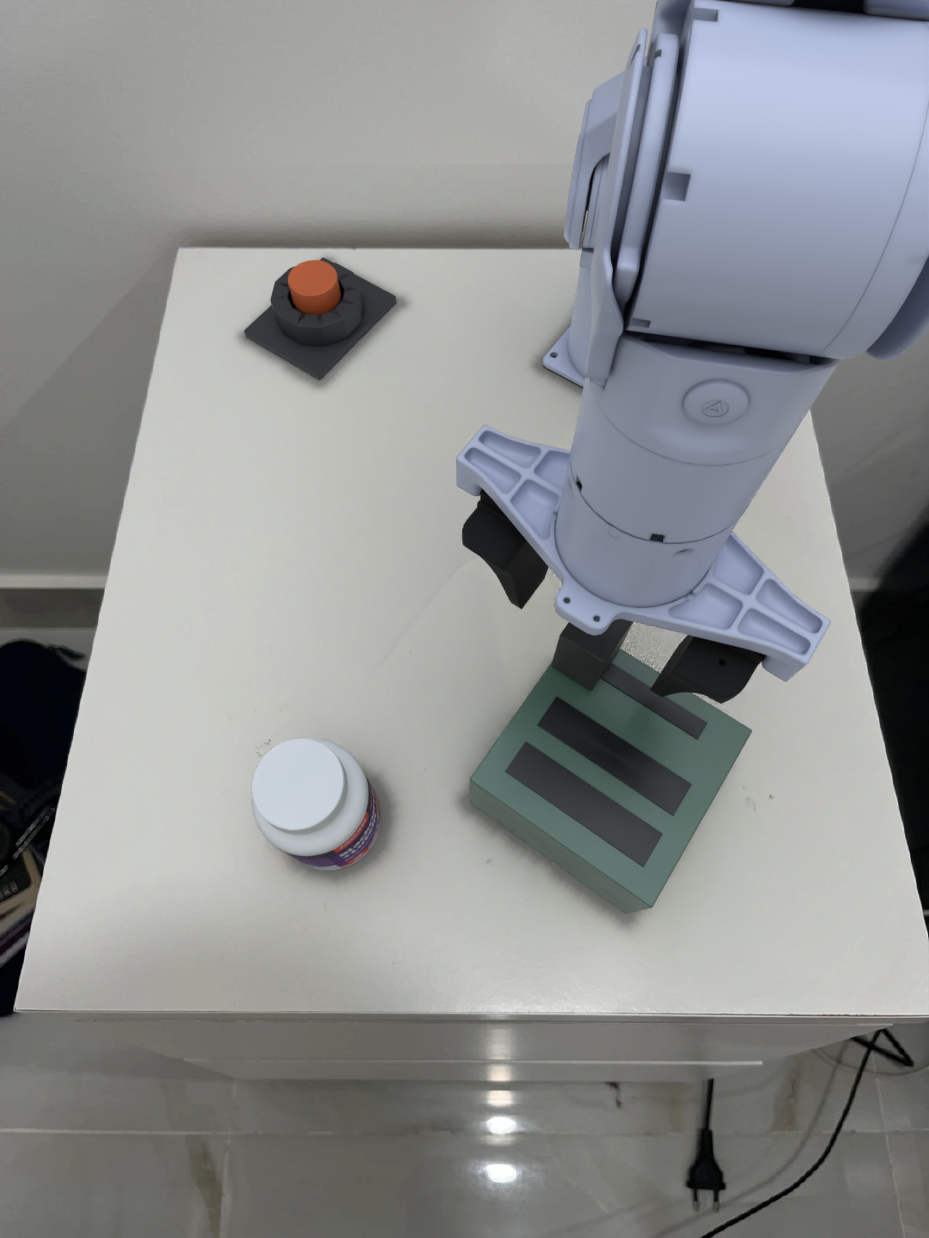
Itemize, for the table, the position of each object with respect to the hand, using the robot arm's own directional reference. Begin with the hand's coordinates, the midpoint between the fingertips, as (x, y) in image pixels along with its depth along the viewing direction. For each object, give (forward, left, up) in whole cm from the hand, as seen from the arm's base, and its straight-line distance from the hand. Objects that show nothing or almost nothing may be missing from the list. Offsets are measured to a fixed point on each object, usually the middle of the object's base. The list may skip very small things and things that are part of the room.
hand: (595, 632), depth 36 cm
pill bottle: (+14, -7, -9) cm, 18 cm away
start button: (-14, -30, -7) cm, 34 cm away
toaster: (+4, +4, -9) cm, 11 cm away
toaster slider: (0, 0, -3) cm, 3 cm away
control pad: (-14, -30, -9) cm, 35 cm away
